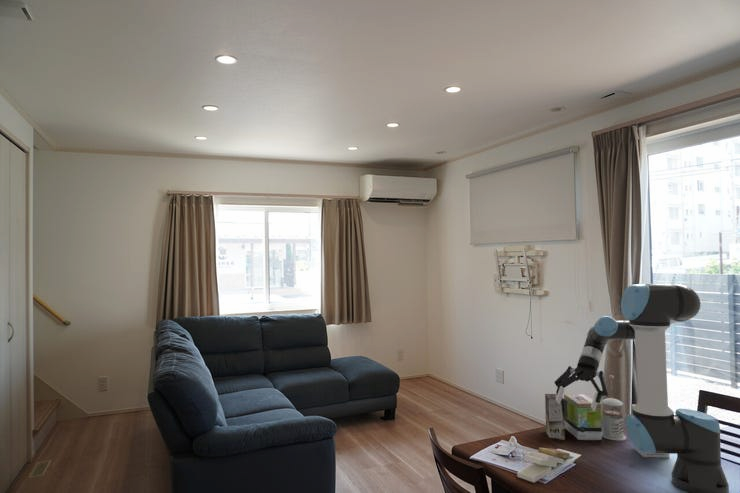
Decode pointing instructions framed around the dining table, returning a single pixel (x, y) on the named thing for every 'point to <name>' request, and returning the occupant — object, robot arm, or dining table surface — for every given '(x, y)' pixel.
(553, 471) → the mat
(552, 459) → the ivory tile
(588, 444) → the dining table surface
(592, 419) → the tea box
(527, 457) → the ivory tile
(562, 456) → the ochre tile
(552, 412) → the coffee box
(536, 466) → the ivory tile
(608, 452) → the dining table surface
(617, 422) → the french press
